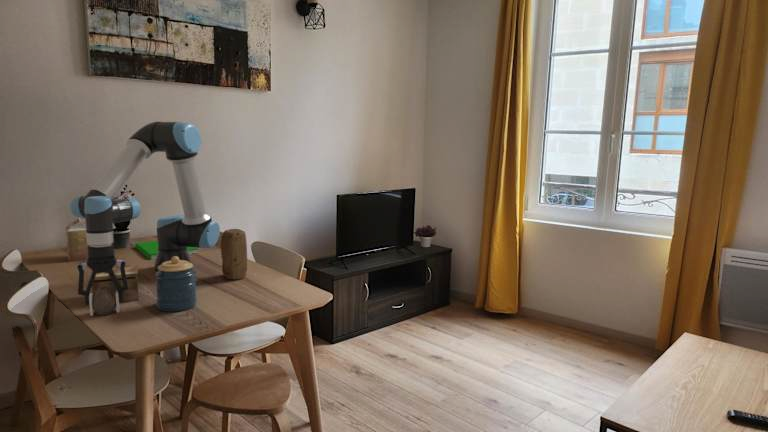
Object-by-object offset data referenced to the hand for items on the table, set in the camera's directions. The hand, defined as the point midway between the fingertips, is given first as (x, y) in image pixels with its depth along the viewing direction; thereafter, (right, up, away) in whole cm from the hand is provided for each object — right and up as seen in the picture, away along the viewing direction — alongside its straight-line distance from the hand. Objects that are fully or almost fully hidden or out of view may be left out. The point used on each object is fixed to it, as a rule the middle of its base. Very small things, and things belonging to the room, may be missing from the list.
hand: (105, 312), depth 166 cm
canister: (+20, 0, +9) cm, 22 cm away
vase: (0, -1, 0) cm, 1 cm away
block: (+29, +6, +44) cm, 53 cm away
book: (-17, +14, +85) cm, 88 cm away
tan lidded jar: (-48, +12, +67) cm, 83 cm away
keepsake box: (-4, +2, +16) cm, 16 cm away
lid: (-4, +11, +14) cm, 18 cm away
